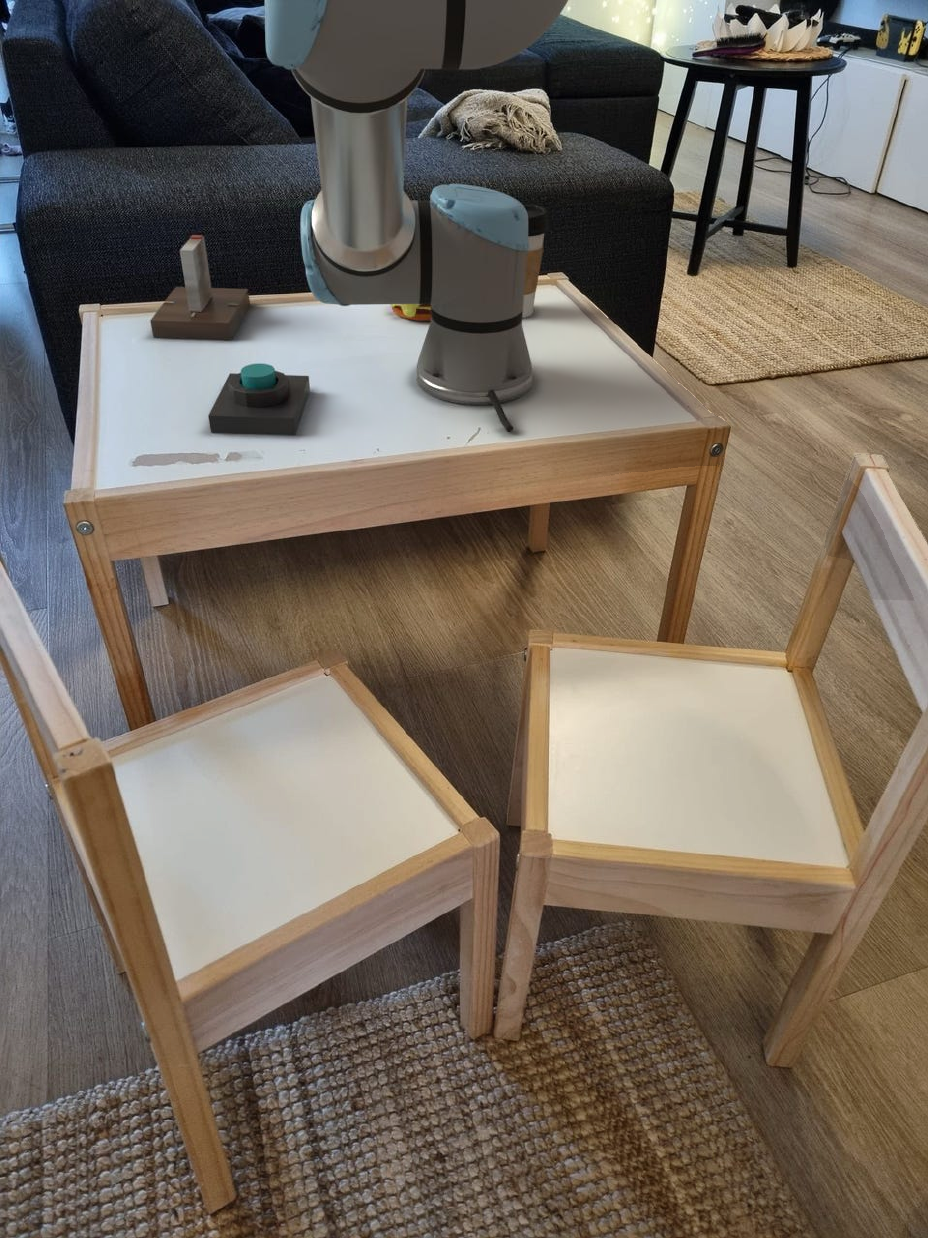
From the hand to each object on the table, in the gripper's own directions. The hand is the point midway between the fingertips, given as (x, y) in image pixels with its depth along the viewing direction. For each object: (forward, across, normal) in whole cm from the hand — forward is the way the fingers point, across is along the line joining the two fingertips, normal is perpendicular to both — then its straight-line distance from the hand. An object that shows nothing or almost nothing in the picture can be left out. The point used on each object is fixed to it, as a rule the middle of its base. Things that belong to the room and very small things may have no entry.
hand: (364, 149), depth 118 cm
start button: (+21, +26, -11) cm, 35 cm away
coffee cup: (+25, -11, +21) cm, 34 cm away
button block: (+24, +26, -11) cm, 37 cm away
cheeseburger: (+25, -9, +7) cm, 27 cm away
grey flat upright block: (+22, -3, -25) cm, 33 cm away
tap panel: (+24, -3, -25) cm, 35 cm away
